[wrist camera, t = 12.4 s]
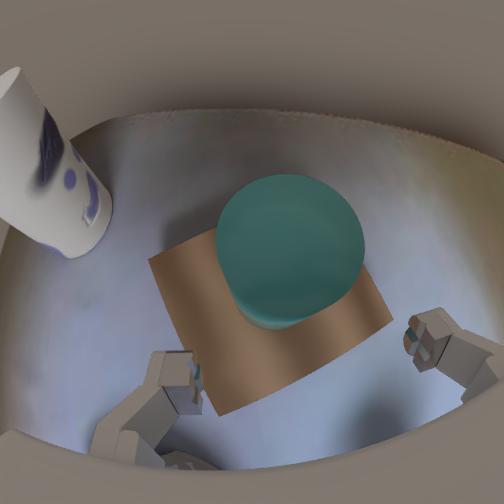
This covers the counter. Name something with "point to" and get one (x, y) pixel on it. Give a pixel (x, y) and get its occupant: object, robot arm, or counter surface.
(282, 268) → the teal rounded cylinder
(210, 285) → the wavy tan tile
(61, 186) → the container
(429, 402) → the counter surface
